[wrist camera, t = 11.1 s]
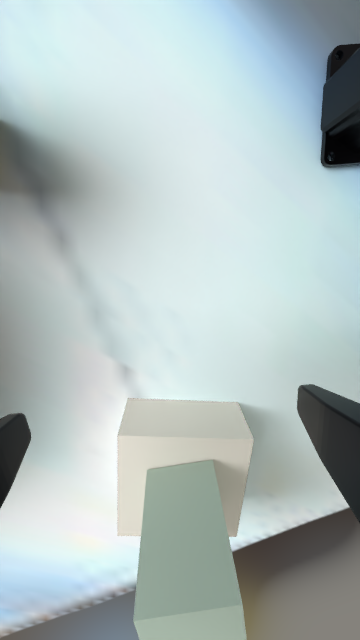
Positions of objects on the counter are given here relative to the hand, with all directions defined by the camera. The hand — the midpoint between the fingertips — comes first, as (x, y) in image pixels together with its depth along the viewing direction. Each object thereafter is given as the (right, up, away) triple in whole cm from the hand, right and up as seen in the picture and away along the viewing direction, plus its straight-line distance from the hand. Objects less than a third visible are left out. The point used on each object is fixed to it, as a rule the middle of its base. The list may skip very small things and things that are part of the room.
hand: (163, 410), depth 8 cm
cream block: (0, -9, +16) cm, 19 cm away
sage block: (+1, -10, +12) cm, 16 cm away
